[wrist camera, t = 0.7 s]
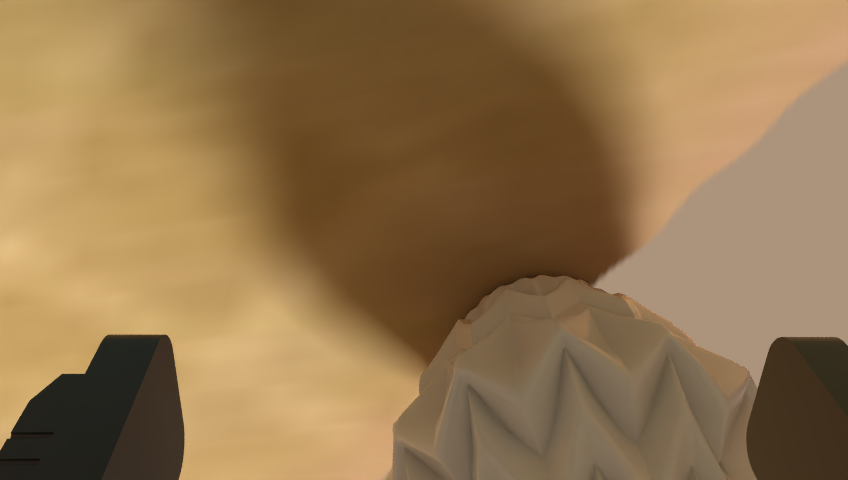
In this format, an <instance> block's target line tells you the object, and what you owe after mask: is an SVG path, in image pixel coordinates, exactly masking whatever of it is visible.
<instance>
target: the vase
mask: <svg viewBox="0 0 848 480" xmlns="http://www.w3.org/2000/svg"><path fill="white" fill-rule="evenodd" d="M757 390H758V389H757V387H756V385H755V383H754V381H753V379H752V377H751V376H750V374H749V371H748V370H747V368H745V367H743V366H740V365H739V364H737V363H735V362H733V361H731V360H729V359H726V358H724V357H722V356H720V355H717V354H715V353H713V352H710V351H708V350H706V349H704V348H701V347H699V346H697V345H696V344H695V343H694V342H693V340H692V339H691V338H690V337H689V336H688V335H687V334H686V333H685V332H683V331H682V330H680V329H679V328H677V327H675V326H674V325H673V324H672V323H671V322H670V321H668V320H666V319H664V318H662V317H661V316H659V315H657V314H656V313H654V312H652V311H651V310H649V309H647V308H646V307H644V306H642V305H641V304H639V303H638V302H636V301H634V300H633V299H631V298H629V297H627V296H626V295H624V294H619V293H617V294H613V295H612V294H608V293H607V292H605V291H603V290H601V289H596V288H592V287H591V286H590V285H589V284H588V283H587V282H585V281H584V280H580V279H579V280H575V279H573V278H571V277H568V276H558V277H550V276H547V275H538V276H536V277H533V278H521V279H519V280H517V281H515V282H514V283H512V284H509V285H504V286H500V287H498V288H497V289H495V290H494V291H493V292H492V293H491V294H489V295H486V296H484V297H483V298H482V299H481V301H480V302H479V304H478V306H477V307H476V308H474V309H473V310H471V311H470V312H469V313H468V314H467V316H466V318H465V319H459V320H457V322H456V324H455V325H454V327H453V329H452V330H451V332H450V334H449V335H448V337H447V338H446V340H445V342H444V343H443V345H442V346H441V348H440V350H439V351H438V353H437V354H436V356H435V357H434V359H433V360H432V361H431V363H430V364H429V366H428V367H427V369H426V370H425V371H424V372H423V374H422V375H421V377H420V383H419V396H418V397H417V398H416V399H415V400H414V401H413V402H412V403H411V405H410V406H409V407H408V408H407V409H406V410H405V411H404V412H403V413H402V415H401V416H400V417H399V419H398V420H397V421H396V422H395V423H394V424H393V465H392V469H391V471H390V473H389V475H388V476H387V478H386V480H757V478H756V476H755V475H754V473H753V470H752V468H751V465H750V462H749V458H748V453H747V446H746V432H747V425H748V421H749V418H750V414H751V411H752V407H753V404H754V400H755V397H756V393H757Z"/></svg>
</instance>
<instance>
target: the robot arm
mask: <svg viewBox="0 0 848 480" xmlns="http://www.w3.org/2000/svg"><path fill="white" fill-rule="evenodd" d="M746 446H747V453H748V458H749V462H750V465H751V468H752V470H753V473H754V475H755V476H756V478H757V480H848V346H847V345H846V344H845V343H844V342H843V341H842V340H841V339H839V338H836V337H780V338H777V339H776V340H775V341H774V342H773V343H772V345H771V347H770V349H769V352H768V355H767V358H766V362H765V365H764V369H763V372H762V376H761V379H760V383H759V386H758V390H757V393H756V397H755V400H754V404H753V407H752V411H751V414H750V418H749V421H748V425H747V432H746ZM183 455H184V423H183V416H182V409H181V402H180V396H179V389H178V382H177V375H176V368H175V361H174V354H173V348H172V344H171V341H170V338H169V337H168V336H167V335H107V336H106V337H105V338H104V339H103V340H102V342H101V344H100V346H99V348H98V350H97V352H96V354H95V355H94V357H93V359H92V361H91V363H90V365H89V367H88V369H87V371H86V373H85V374H62V375H60V376H59V377H58V378H57V379H56V380H54V381H53V382H52V383H51V384H49V385H48V386H47V387H46V388H45V389H43V390H42V391H41V392H40V393H39V394H37V395H36V396H35V397H34V398H32V399H31V400H30V401H29V403H28V404H27V406H26V408H25V409H24V411H23V413H22V415H21V416H20V418H19V420H18V421H17V423H16V425H15V426H14V428H13V430H12V432H11V438H10V439H7V440H6V442H5V443H4V445H3V447H2V449H1V450H0V480H179V476H180V472H181V468H182V462H183Z"/></svg>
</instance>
